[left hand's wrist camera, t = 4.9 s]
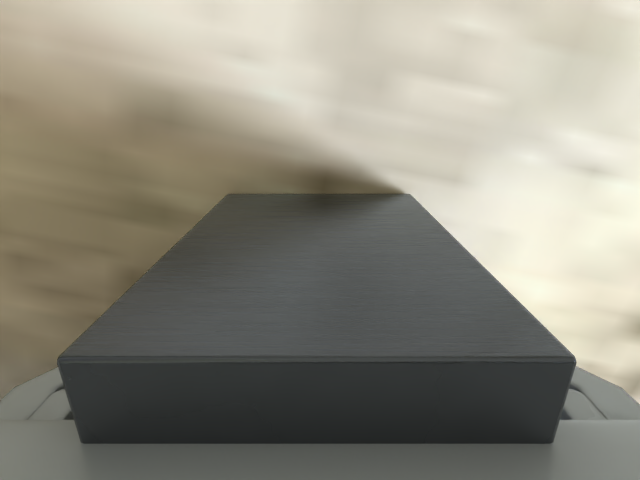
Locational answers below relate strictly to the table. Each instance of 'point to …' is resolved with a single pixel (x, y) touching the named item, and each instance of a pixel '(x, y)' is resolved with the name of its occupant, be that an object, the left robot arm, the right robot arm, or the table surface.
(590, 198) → the table surface
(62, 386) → the left robot arm
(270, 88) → the table surface
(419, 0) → the table surface
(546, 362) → the box
